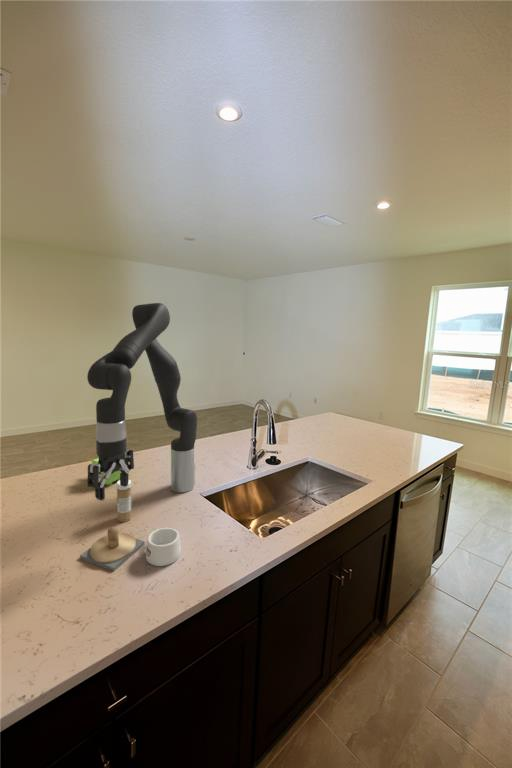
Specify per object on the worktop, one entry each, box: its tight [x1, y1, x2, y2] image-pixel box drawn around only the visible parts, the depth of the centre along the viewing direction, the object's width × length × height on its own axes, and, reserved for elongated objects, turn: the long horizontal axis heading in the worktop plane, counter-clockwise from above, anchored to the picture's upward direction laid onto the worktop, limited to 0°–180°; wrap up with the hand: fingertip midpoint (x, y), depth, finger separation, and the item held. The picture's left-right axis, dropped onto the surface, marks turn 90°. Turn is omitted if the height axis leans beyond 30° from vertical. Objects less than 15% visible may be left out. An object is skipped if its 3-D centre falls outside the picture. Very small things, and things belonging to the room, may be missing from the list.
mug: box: [145, 527, 182, 567], centre depth 91 cm, size 12×10×6 cm
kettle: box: [91, 456, 130, 486], centre depth 134 cm, size 15×14×11 cm
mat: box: [79, 537, 145, 572], centre depth 92 cm, size 12×12×1 cm
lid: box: [89, 526, 136, 563], centre depth 91 cm, size 12×12×6 cm
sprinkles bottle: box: [115, 478, 132, 523], centre depth 107 cm, size 5×5×13 cm
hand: (112, 492), depth 89 cm, fingers open, 8 cm apart
